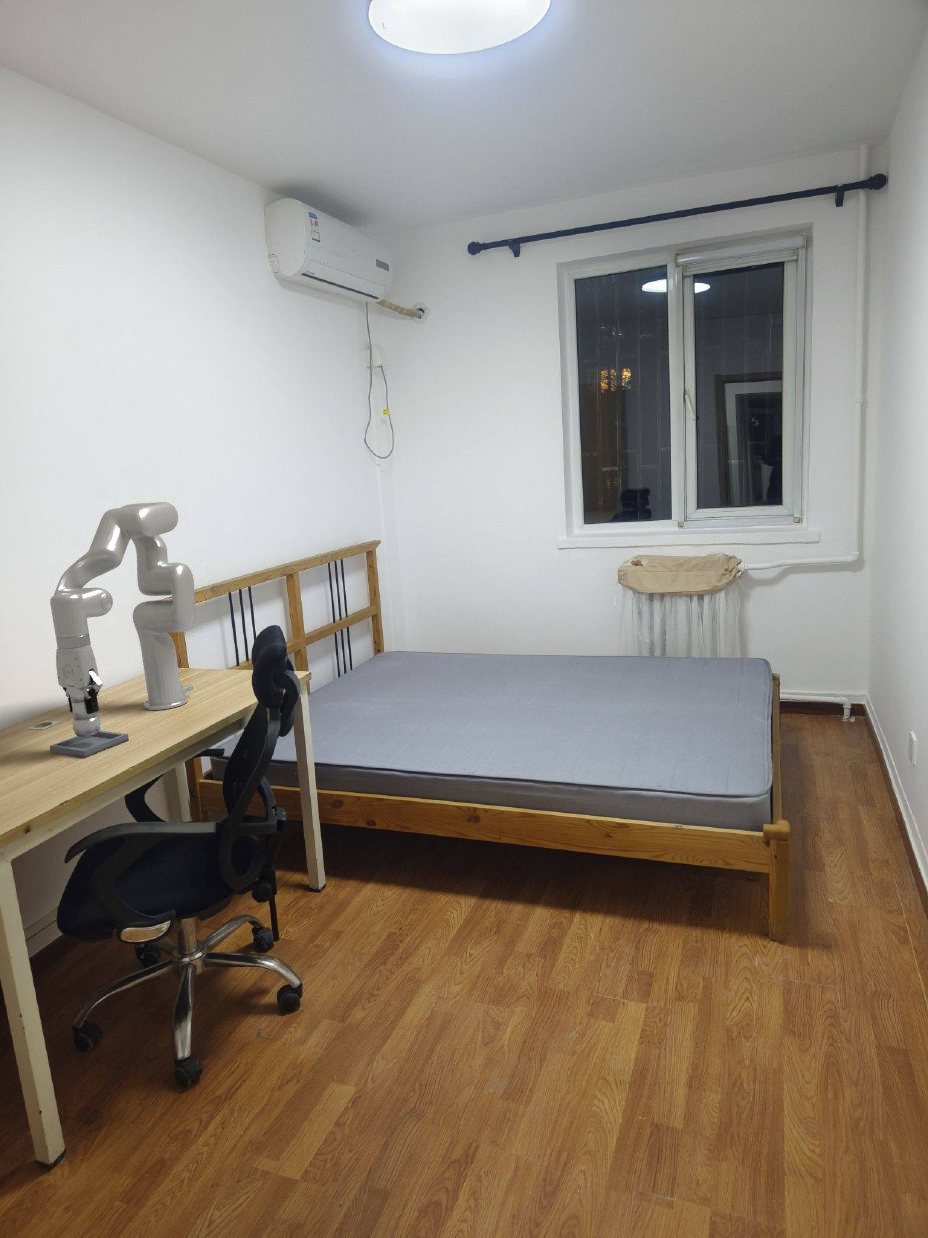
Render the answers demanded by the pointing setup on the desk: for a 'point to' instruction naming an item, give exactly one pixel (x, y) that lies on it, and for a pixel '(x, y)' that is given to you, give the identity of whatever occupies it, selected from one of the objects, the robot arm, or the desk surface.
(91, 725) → the plastic bottle
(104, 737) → the charcoal tray
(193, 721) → the desk surface
